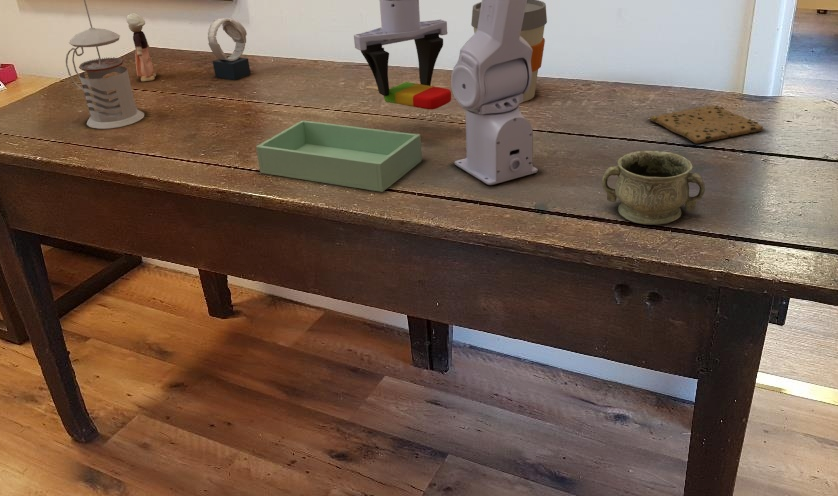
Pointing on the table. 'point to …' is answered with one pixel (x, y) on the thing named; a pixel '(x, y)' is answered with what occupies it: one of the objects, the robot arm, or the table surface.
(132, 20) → the grandmother figurine
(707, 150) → the table surface
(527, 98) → the reusable coffee cup
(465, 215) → the table surface
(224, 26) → the watch
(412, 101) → the popsicle
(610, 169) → the vessel
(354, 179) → the tote
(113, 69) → the french press
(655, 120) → the cookie
